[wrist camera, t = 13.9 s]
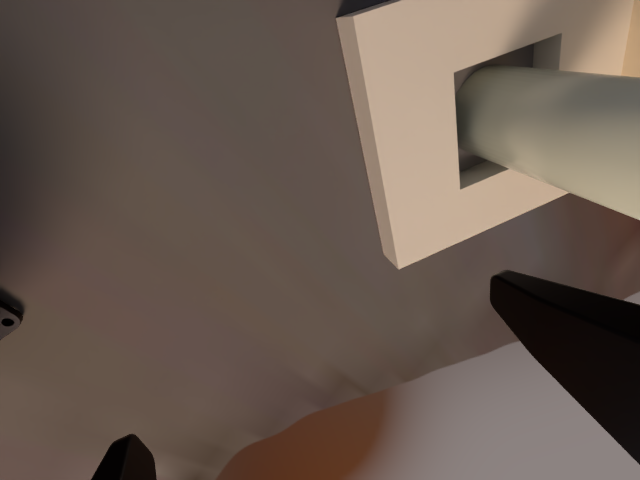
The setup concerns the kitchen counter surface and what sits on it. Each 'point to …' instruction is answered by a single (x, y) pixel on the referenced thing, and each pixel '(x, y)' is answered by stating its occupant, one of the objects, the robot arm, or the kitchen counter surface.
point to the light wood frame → (439, 103)
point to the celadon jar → (557, 129)
